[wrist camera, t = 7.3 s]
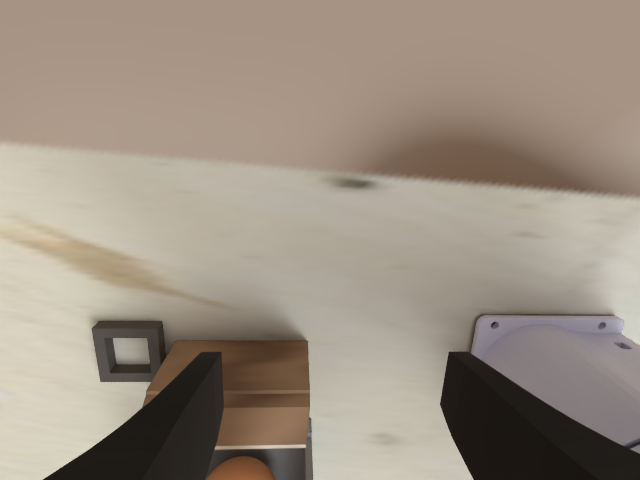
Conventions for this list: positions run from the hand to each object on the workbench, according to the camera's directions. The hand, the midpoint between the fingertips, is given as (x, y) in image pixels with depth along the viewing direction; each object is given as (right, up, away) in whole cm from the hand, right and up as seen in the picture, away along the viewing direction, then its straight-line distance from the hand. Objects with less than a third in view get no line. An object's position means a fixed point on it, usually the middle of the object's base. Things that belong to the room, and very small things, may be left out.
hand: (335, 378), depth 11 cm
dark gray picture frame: (-12, -2, +10) cm, 16 cm away
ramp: (-5, -5, +11) cm, 14 cm away
